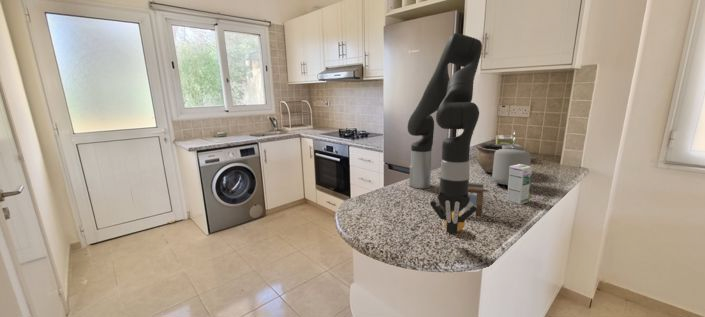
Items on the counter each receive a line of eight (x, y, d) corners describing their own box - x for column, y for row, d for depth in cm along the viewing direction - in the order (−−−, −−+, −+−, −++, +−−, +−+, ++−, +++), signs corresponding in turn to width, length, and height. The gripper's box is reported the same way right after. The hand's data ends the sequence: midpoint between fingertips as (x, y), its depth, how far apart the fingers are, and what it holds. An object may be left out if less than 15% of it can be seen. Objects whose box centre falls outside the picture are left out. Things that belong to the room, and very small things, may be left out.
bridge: (481, 216, 103) (483, 190, 101) (437, 210, 109) (438, 185, 107) (481, 213, 105) (483, 188, 103) (439, 207, 112) (440, 183, 110)
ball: (443, 233, 92) (443, 215, 90) (445, 225, 97) (446, 208, 96) (463, 236, 89) (464, 218, 88) (465, 228, 95) (466, 211, 93)
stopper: (449, 187, 136) (450, 181, 135) (450, 185, 137) (450, 180, 137) (482, 190, 130) (483, 185, 129) (483, 189, 132) (483, 183, 131)
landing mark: (442, 203, 116) (442, 202, 116) (447, 192, 129) (447, 191, 129) (480, 208, 110) (480, 207, 110) (482, 196, 123) (482, 195, 123)
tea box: (494, 156, 196) (495, 134, 193) (511, 157, 192) (513, 135, 189) (495, 161, 182) (497, 137, 179) (513, 162, 179) (515, 138, 175)
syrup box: (520, 204, 113) (524, 168, 109) (506, 200, 118) (509, 165, 115) (529, 202, 115) (533, 166, 112) (515, 197, 120) (518, 163, 117)
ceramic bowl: (522, 170, 160) (524, 143, 157) (519, 180, 142) (522, 150, 139) (478, 166, 172) (480, 140, 169) (471, 175, 154) (473, 147, 151)
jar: (494, 177, 148) (498, 128, 143) (528, 181, 141) (533, 129, 135) (489, 188, 132) (494, 133, 127) (527, 193, 125) (533, 135, 120)
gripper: (481, 174, 81) (477, 232, 85) (432, 170, 87) (430, 224, 90) (479, 181, 75) (475, 244, 78) (427, 177, 80) (425, 235, 84)
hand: (451, 233), depth 84 cm, fingers closed
